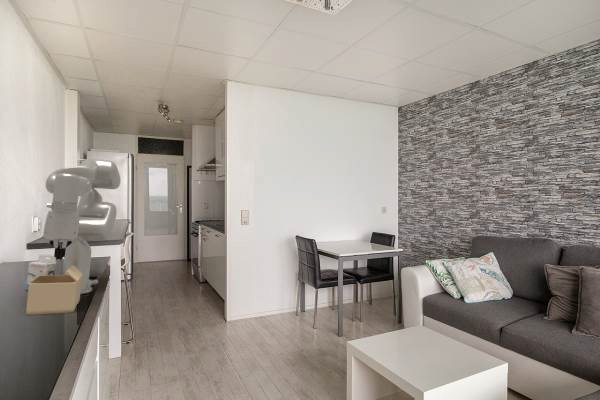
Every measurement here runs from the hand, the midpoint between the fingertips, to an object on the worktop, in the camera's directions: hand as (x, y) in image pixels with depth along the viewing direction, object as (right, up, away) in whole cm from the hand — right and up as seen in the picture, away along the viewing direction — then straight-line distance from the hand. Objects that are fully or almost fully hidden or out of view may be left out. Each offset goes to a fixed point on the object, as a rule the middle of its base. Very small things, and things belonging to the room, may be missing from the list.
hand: (59, 259), depth 121 cm
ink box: (-23, -17, +21) cm, 35 cm away
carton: (-1, -17, 0) cm, 17 cm away
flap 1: (-5, -5, -2) cm, 7 cm away
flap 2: (+4, -6, +2) cm, 7 cm away
